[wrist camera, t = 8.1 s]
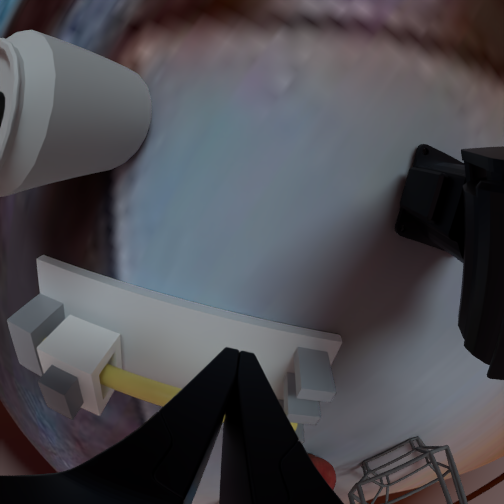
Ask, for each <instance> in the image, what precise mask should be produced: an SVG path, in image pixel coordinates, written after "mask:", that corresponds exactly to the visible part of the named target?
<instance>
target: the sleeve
mask: <svg viewBox="0 0 504 504" xmlns="http://www.w3.org/2000/svg"><path fill="white" fill-rule="evenodd" d="M37 352H38V356H39V359H40V363H41V366H42V369H43V373H44V374H43V376H42V377H41V378H40V379H39V380H38V383H39V386H40V389H41V391H42V394H43V396H44V399H45V402H46V404H47V406H48V407H49V408H51V409H53V410H55V411H56V412H58V413H60V414H62V415H64V416H66V417H68V418H70V419H72V420H73V419H74V417H75V416H76V414H77V412H78V411H79V409H80V408H83V409H85V410H87V411H89V412H92V413H94V414H96V415H98V416H100V415H101V413H102V411H103V410H104V408H105V406H106V404H107V403H108V401H109V399H110V397H111V396H112V394H113V392H114V389H112V388H109V387H107V386H104V385H102V384H100V379H99V374H100V373H101V371H102V370H103V368H104V367H105V365H106V364H110V365H112V366H115V367H118V368H120V369H122V360H121V337H120V334H119V333H116V332H114V331H111V330H108V329H106V328H103V327H100V326H98V325H95V324H92V323H90V322H87V321H85V320H82V319H80V318H77V317H75V316H73V315H69V316H68V317H67V318H66V319H65V320H64V321H63V322H62V323H61V324H60V325H59V326H58V327H57V328H56V329H55V330H54V331H53V332H52V333H51V334H50V335H49V336H48V337H47V338H46V339H45V340H44V341H43V342H42V343H41V344H40V345H39V346H38V347H37Z"/></svg>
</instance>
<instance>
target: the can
mask: <svg viewBox="0 0 504 504" xmlns="http://www.w3.org/2000/svg"><path fill="white" fill-rule="evenodd" d="M151 115H152V100H151V97H150V93H149V90H148V86H147V85H146V84H145V82H144V81H143V80H142V78H141V77H140V76H139V74H137V73H135V72H134V71H132V70H130V69H128V68H127V67H124V66H122V65H120V64H118V63H116V62H114V61H111V60H109V59H107V58H104V57H102V56H100V55H98V54H95V53H93V52H90V51H88V50H85V49H83V48H81V47H78V46H75V45H73V44H70V43H68V42H65V41H62V40H60V39H57V38H54V37H51V36H48V35H45V34H43V33H40V32H37V31H33V30H27V31H21V32H16V33H15V34H13V35H12V36H10V37H8V38H7V39H4V38H0V197H2V196H8V195H11V194H15V193H18V192H21V191H25V190H28V189H32V188H35V187H39V186H43V185H46V184H50V183H54V182H58V181H62V180H66V179H70V178H75V177H79V176H83V175H88V174H93V173H98V172H102V171H107V170H111V169H113V168H116V167H118V166H120V165H122V164H124V163H125V162H126V161H127V160H128V159H130V158H131V157H132V156H133V155H134V154H135V153H136V152H137V150H138V149H139V147H140V146H141V144H142V142H143V141H144V139H145V138H146V135H147V132H148V129H149V125H150V122H151Z"/></svg>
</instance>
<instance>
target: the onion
mask: <svg viewBox="0 0 504 504" xmlns="http://www.w3.org/2000/svg"><path fill="white" fill-rule="evenodd" d="M308 455H309V457H310V459H311V460H312V462H313V464H314V465H315V467H316V468H317V470H318V471H319V472H320V474H321V475H322V477H323V478H324V479H325V481H326V482H327V483H328V485H329V486H330V487H331V488H332V490H333V489H334V487H335V483H336V474H335V471H334V468H333V466H332V465H331V464H330V463H329V462H327V461H326V460H324V459H322V458H319V457H316V456H314V455H313V454H308Z"/></svg>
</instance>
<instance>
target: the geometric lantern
mask: <svg viewBox="0 0 504 504" xmlns="http://www.w3.org/2000/svg"><path fill="white" fill-rule="evenodd" d="M414 440H417V442H418V445H419V447H416V448H415V446H414V444H413V441H414ZM408 442H410V444H411V447H412V449H413V450H412V451H410V452H408V453H406V454H404V455H402V456H400V457H398V458H396V459H395V460H393V461H390V462H388V463H386V464H384V465H382V466H380V467H378V468H376V469H373V470H371V469H369V466H368V463H367V462H369V461H371V460H374V459H376V458H378V457H380V456H382V455H385V454H387V453H389V452H391V451H393V450H395V449H397V448H399V447H401V446H403V445H405V444H407V443H408ZM428 449H433V450H430V451H429V450H428ZM425 450H426V451H425ZM442 450H445V452H446V456H447V460H448V464H449V466H447V465H444V464H441V463H439V462H436V459H435V457H434V455H433V453H436V452H439V451H442ZM415 451H418V452H421V453H424V454H422V455H420V456H418V457H416V458H414V459H412V460H410V461H408V462H406V463H404V464H402V465H400V466H397V467H395V468H393V469H391V470H388V471H386V472H384V473H381V474H379V475H378V474H377V473H375V471H377V470H379V469H381V468H384V467H386V466H388V465H390V464H392V463H394V462H396V461H398V460H400V459H402V458H404V457H406V456H408V455H409V454H411V453H413V452H415ZM423 458H425V459H426V462H427V464H426V465H424V466H422V467H421V468H419V469H417V470H415V471H414V472H412V473H410V474H408V475H406V476H404V477H403V478H401V479H399V480H397V481H395V482H393V483H391V484H390V481H389V477H388V475H390V474H392V473H395V472H397V471H399V470H401V469H403V468H405V467H407V466H409V465H411V464H413V463H415V462H417V461H419V460H421V459H423ZM428 459H429V460H430V462H429V460H428ZM431 463H432V465H433V466H432V465H431ZM428 465H429V466H430V467H431V468H432V469H433V470H434V471H435V472H436V474H437V477H438V478H436V479H435V480H433V481H431V482H429V483H427V484H425V485H423V486H421V487H419V488H417V489H415V490H413V491H411V492H409V493H407V494H405V495H403V496H401V497H398V498H396V499H394V500H391V501H389V502H388V494H389V486H391V485H393V484H395V483H397V482H399V481H401V480H403V479H405V478H407V477H409V476H411V475H413V474H414V473H416V472H418V471H420V470H421V469H423V468H425V467H427V466H428ZM438 465H440V466H442V467H445V468H447V469H449V470H447V471H446V472H445V473H444V474H443V475H442V474H441V471H440V469H439V466H438ZM362 467H363V472H364V476H363V477H362V479H361V480H360V481H359V482H358V483H356V484H355V485H354V486H353V488H352V489H351V490H350V492H349V493H348V497H349V501H350V504H355V502H354V499H355V500H356V501H358V502H360V503H361V504H368V503H367V502H365V498H364V494H363V491H362V487H361V485H364V484H366V483H369V482H373V483H375V484H377V485H379V486H381V488H380V489H379V491H378V493H377V494H376V496H375V497H374V499H373V501H372V502H371V504H373V503H374V502H375V500H376V498H377V497H378V495H379V493H380V492H381V490H382V488H383V487H387V488H386V501H385V503H384V504H391V503H394V502H396V501H399V500H401V499H403V498H405V497H407V496H410V495H412V494H414V493H416V492H418V491H420V490H422V489H424V488H426V487H428V486H429V485H431V484H433V483H435V482H437V481H439V482H440V485H441V487H442V490H443V493H444V496H445V498H446V501H447V504H453V503H452V500H451V497H450V494H449V492H448V489H447V486H446V484H445V481H444V479H443V477H445V476H446V475H447V474H448V473H450V472H451V475H452V478H453V482H454V485H455V488H456V492H457V495H458V499H459V502H460V504H468V503H467V500H466V496H465V493H464V490H463V486H462V483H461V480H460V477H459V474H458V470H457V468H456V465H455V462H454V459H453V456H452V454H451V451H450V448H449V446H448V445H445V446H425V445H424V443H423V442H422V440H421V439H420V438H419V437H415V438H411V439H408V440H407V441H405V442H403V443H401V444H399V445H397V446H395V447H393V448H391V449H389V450H387V451H385V452H383V453H381V454H379V455H377V456H374V457H372V458H370V459H368V460H365V461H363V464H362ZM366 470H367V473H366ZM370 473H372V474H373V475H375V476H374V477H371V478H370V477H368V475H369V474H370ZM384 476H386V479H387V483H388V484H387V485H384V484H383V480H382V477H384ZM379 478H380V482H381V483H379V482H377V481H375V480H377V479H379ZM365 479H366V480H365ZM356 490H357V491H358V494H359V497H357V496H356V495H354V494H353V493H354V492H355V491H356Z"/></svg>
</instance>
